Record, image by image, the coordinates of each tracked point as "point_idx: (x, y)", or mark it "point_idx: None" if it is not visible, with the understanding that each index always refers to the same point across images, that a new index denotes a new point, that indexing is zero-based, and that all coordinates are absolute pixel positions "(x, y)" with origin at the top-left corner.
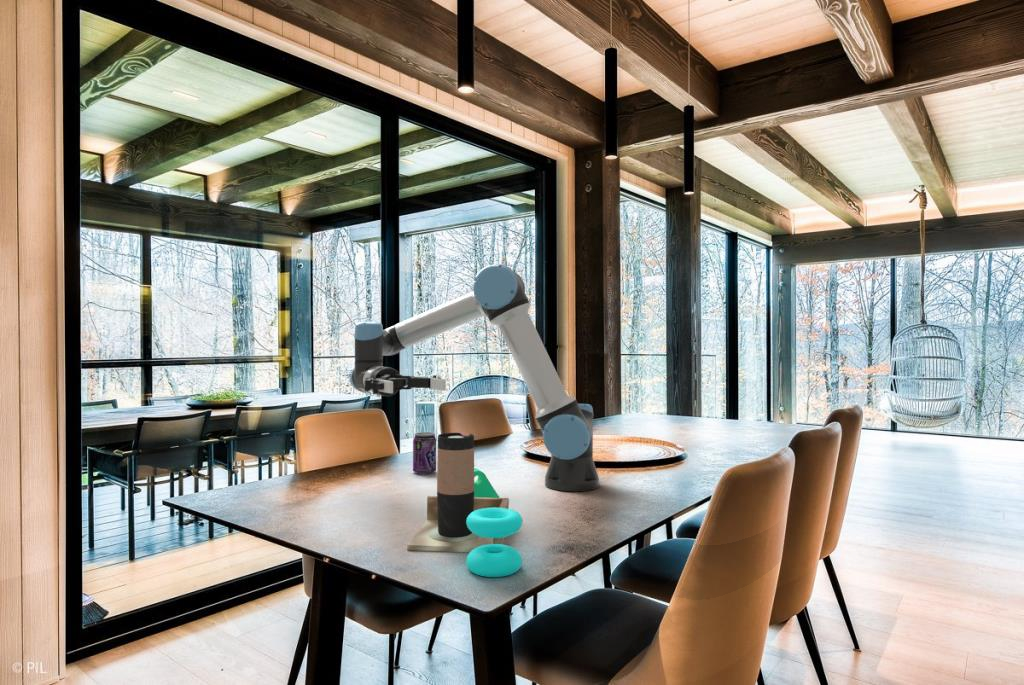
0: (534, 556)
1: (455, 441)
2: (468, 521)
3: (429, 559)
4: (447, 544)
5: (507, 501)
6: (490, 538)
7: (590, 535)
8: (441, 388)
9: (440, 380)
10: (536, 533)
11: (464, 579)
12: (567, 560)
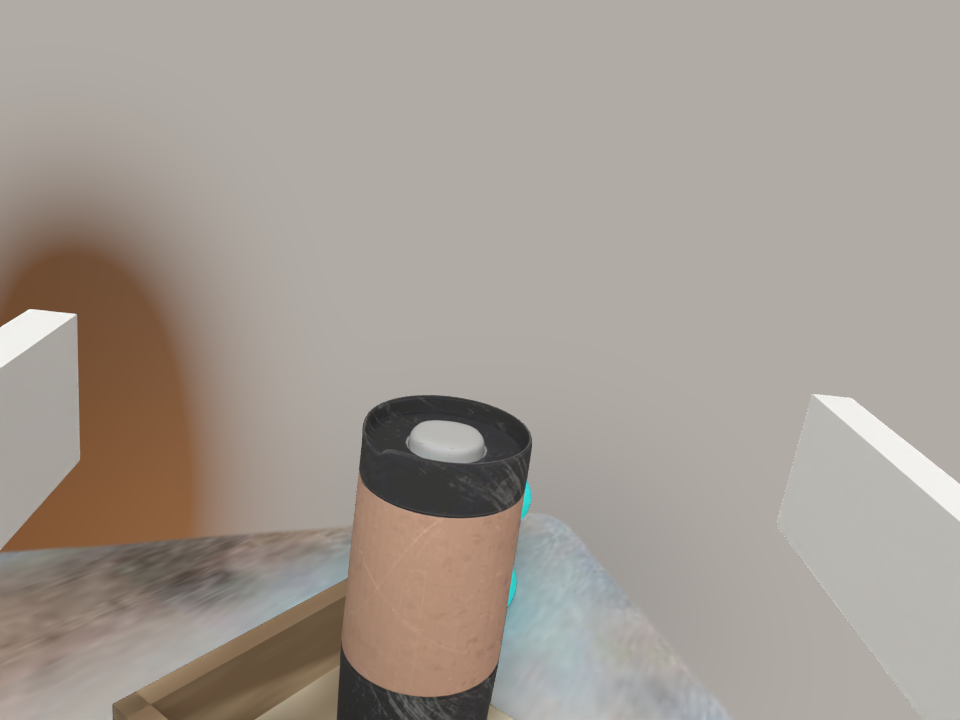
0: (309, 590)
1: (485, 416)
2: (530, 495)
3: (566, 704)
4: (487, 717)
5: (162, 678)
6: (334, 688)
7: (34, 600)
8: (62, 453)
9: (47, 355)
10: (131, 688)
11: (535, 590)
12: (267, 546)
